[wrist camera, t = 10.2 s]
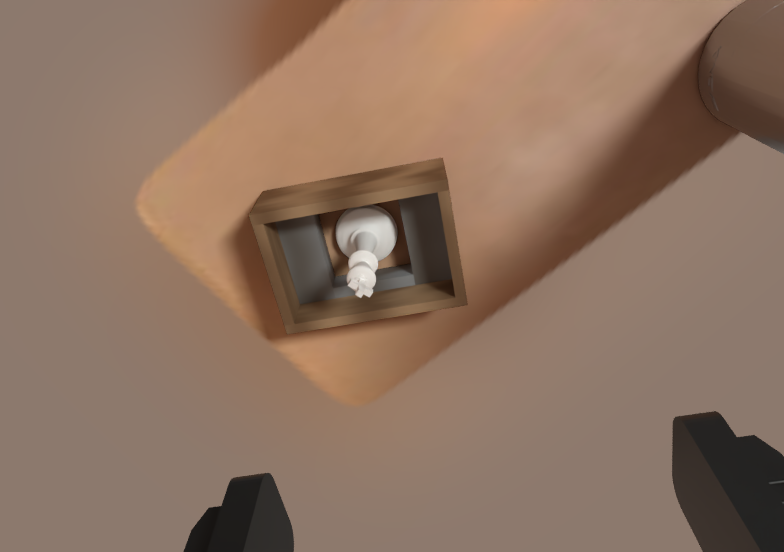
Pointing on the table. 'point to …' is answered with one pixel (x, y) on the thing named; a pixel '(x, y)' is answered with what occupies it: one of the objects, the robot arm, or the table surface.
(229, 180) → the table surface
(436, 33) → the table surface
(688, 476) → the robot arm
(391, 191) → the walnut box
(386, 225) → the chess piece
